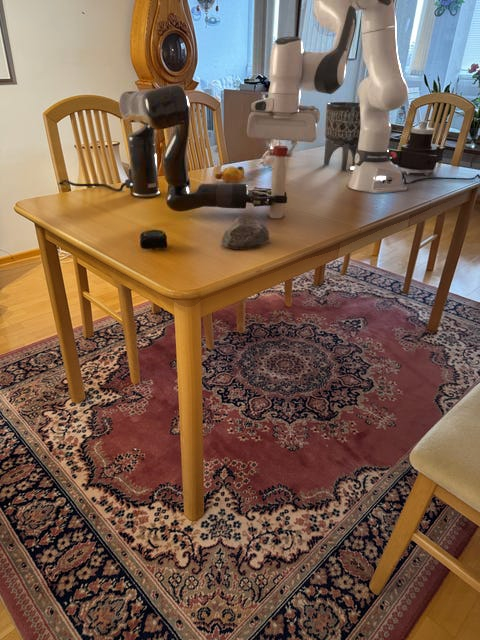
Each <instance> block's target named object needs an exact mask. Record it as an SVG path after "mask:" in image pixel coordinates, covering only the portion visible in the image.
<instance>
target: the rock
mask: <svg viewBox="0 0 480 640" xmlns="http://www.w3.org/2000/svg"><path fill="white" fill-rule="evenodd" d="M269 241H270V233H269V230H268V229H267V228H266V226H265V225H263V224H261V223H259V222H256V221H255V220H252V219H247V218H245V217H241V216H238V217H237V218H236V219H235V221H234V222H233V223H232V224H231V225H229V226H228V227H227V228H226V229H225V231H224V233H223V236H222V239H221V244H222V247H224V248H229V249H231V250H245V249H254V248H257V247H259V246H260V245H264V244H266V242H269Z"/></svg>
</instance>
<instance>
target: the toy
mask: <svg viewBox="0 0 480 640" xmlns="http://www.w3.org/2000/svg"><path fill="white" fill-rule="evenodd" d="M214 177H215V180H222V181H223V182H225V183H238V184H239V183H240V182H243V181H244V180H245V179H246V175H245V169H244V166H238V167H237V166H236V167H235V166H233V165H232V166H228V167H224V168H223V169H222V171H220V172H219V173H216V174H215V175H214Z"/></svg>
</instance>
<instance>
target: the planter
mask: <svg viewBox="0 0 480 640" xmlns="http://www.w3.org/2000/svg"><path fill="white" fill-rule="evenodd" d="M324 125H325V126H324V139H325V144H324V156H323V157H324V158H323V165H325V166H328V165H330V163H331V158H332V156H333V154H334V153H335V151H336V150H337V149H340V148H341V150H342V153H341V166H340V170H341V172H345V171H347V167H348V166H347V165H348V159H349V152H350V154H351V157H352V158H351V159H352V160H351V161H352V167H354V166H355V155H356V149H357V148H358V142H359V135H360V126H361V120H360V102H353V101H333V102H327V103H326V109H325V124H324Z"/></svg>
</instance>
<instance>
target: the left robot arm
mask: <svg viewBox="0 0 480 640" xmlns="http://www.w3.org/2000/svg"><path fill="white" fill-rule="evenodd" d="M118 106H119V112H120V115H121V118H122V119H123V120H124V121H125V122H127V123H139V124H141V125H142V126H141V127H140V128H139V129H138V130H136V131H134V132H131V133H130V134H128V136H127V146H128V156H129V166H128V168H127V170H128V171H127V172H128V178H127V179H125V180H124V182H123V183H122V184H121V185H120V187H119V188H114V187H113V186H111V185H109V184H106V183H75V182H72V181H70V180H67V179H62V180H61V181H62V182H60V181H59V182H58V185H62V184H64V183H66V184H68V185H71V186H73V187H103V188H106V189H107V188H108V189H109V190H112V191H115V192H122V191H123V190H124V188H126V189H129V190H130V195H132V196H134V197H136V198H144V199H145V198H146V199H148V198H155V197H157V196H159V195H160V185H159V184H160V183H159V170H158V157H157V155H158V154H157V144H156V142H157V141H156V131H162V130H165V129H169V128H173V127H174V128H173V131H172V134H171V136H170V138H169V140H168V142H167V144H166V147H165V148H164V151H163V154H162V159H161V160H162V162H161V163H162V169H163V176H164V180H165V182H166V184H167V185H168V186H167V193H166V198H165V199H166V206H167V207H168V208H169V209H170V210H172V211H174V212H177V213H178V212H180V213H182V212H188V211H192V210H197V209H201V208H221V209H236V210H237V209H238V210H239V209H240V210H241V209H243V210H244V209H246V208H247V203H248V204H252V205H253V207H254V208H255V207H270V206H272V204H274V203H284V204H287V203H288V196H287V192H286V191H285V194H284V196H281V195H271V188H266V187H257V186H255V187H253V189H248V185H247V183H239V182H238V183H228V182H223V183H200V184H199V185H198V186H197V189H196V191H194V192H192V191H191V188H192V187H191V185H192V184H191V180H190V177H189V167H188V145H189V135H190V121H191V107H190V102H189V97H188V95H187V92H186V91H185V89H184V87H183V86H182V85H181V84H180V83H172V84H168V85H164V86H160V87H156V88H152V89H140V90H127V91H123V92H122V93H121V95H120V96H119V101H118Z"/></svg>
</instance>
